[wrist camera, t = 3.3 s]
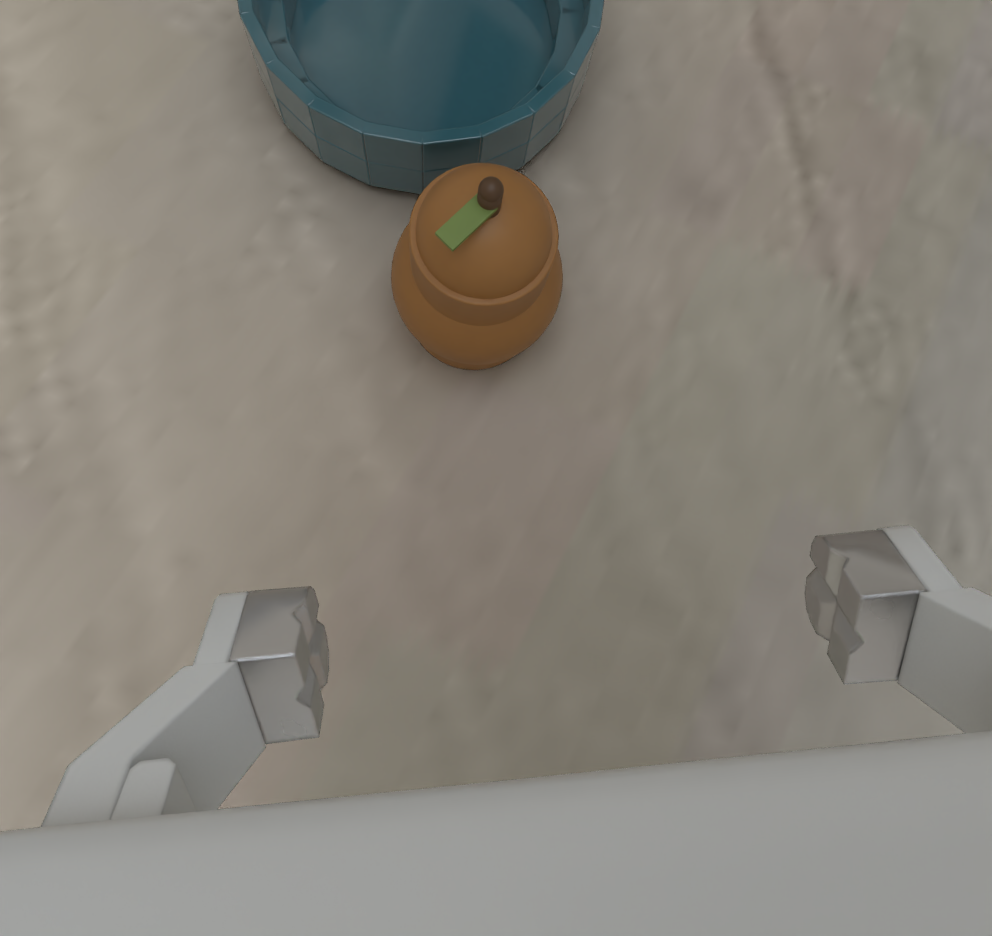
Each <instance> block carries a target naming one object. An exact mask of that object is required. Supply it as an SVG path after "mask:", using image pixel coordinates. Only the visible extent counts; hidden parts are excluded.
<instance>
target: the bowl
mask: <svg viewBox="0 0 992 936" xmlns="http://www.w3.org/2000/svg"><path fill="white" fill-rule="evenodd" d="M237 1H238V8H239V14H240V17H241V20H242V23H243V26H244V29H245V32H246V35H247V38H248V41H249V44H250V47H251V50H252V53H253V56H254V59H255V62H256V65H257V68H258V71H259V74H260V77H261V80H262V82H263V84H264V86H265V88H266V90H267V92H268V94H269V95H270V97H271V99H272V101H273V103H274V105H275V107H276V109H277V111H278V113H279V115H280V117H281V119H282V121H283V123H284V124H286V126H287V127H288V128H289V129H290V130H291V131H292V132H293V133H294V134H295V135H296V136H297V137H298V138H299V139H300V140H301V141H302V142H303V143H304V144H305V145H306V146H307V147H308V148H309V149H310V150H311V151H313V152H314V153H315V154H316V155H317V156H318V157H319V158H320V159H321V160H323V162H324V163H326V164H328V165H330V166H332V167H334V168H336V169H338V170H340V171H342V172H344V173H346V174H348V175H350V176H352V177H354V178H356V179H358V180H360V181H362V182H364V183H366V184H368V185H372V186H376V187H382V188H387V189H393V190H399V191H405V192H410V193H416V194H421V193H422V192H423V190H424V189H425V188H426V187H427V186H428V185H429V184H430V183H431V182H432V181H433V180H434V179H435V178H437V177H438V176H440V175H441V174H443V173H445V172H446V171H448V170H451V169H453V168H455V167H458V166H462V165H466V164H472V163H491V164H497V165H502V166H505V167H508V168H511V169H513V170H517V169H519V168H522V166H524V165H525V164H526V163H527V162H528V161H529V160H530V159H532V158H533V157H534V156H535V155H536V154H537V153H538V152H539V151H540V150H541V149H542V148H543V147H544V146H545V145H546V144H548V143H549V142H550V141H551V140H552V139H553V138H554V137H555V136H556V135H557V134H558V132H560V130H561V128H562V126H563V124H564V122H565V121H566V119H567V117H568V115H569V113H570V111H571V109H572V107H573V105H574V103H575V102H576V100H577V98H578V96H579V94H580V92H581V89H582V86H583V83H584V80H585V76H586V73H587V70H588V67H589V63H590V60H591V57H592V54H593V50H594V47H595V44H596V41H597V37H598V34H599V31H600V27H601V20H602V13H603V6H604V0H237Z"/></svg>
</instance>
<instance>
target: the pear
mask: <svg viewBox="0 0 992 936" xmlns="http://www.w3.org/2000/svg"><path fill="white" fill-rule="evenodd" d="M558 238H559V234H558V225H557V221H556V217H555V214H554V211H553V208H552V206H551V205H550V203H549V201H548V199H547V198H546V196H545V195H544V193H543V192H542V191H541V190H540V189H539V188H538V187H537V185H536V184H534V183H533V182H532V181H531V180H530V179H529V178H527V177H526V176H524V175H522V174H521V173H519V172H517V171H515V170H513V169H511V168H508V167H505V166H502V165H497V164H491V163H472V164H466V165H462V166H458V167H455V168H453V169H451V170H448V171H446V172H445V173H443V174H441V175H440V176H438V177H437V178H435V179H434V180H433V181H432V182H431V183H430V184H429V185H428V186H427V187H426V188H425V189H424V190H423V192H422V193H421V194H420V196H419V197H418V199H417V201H416V203H415V205H414V208H413V210H412V213H411V217H410V222H409V224H408V225H407V226H406V228H405V229H404V231H403V233H402V235H401V237H400V239H399V241H398V244H397V246H396V249H395V252H394V256H393V261H392V272H391V283H392V291H393V296H394V300H395V303H396V306H397V309H398V312H399V314H400V316H401V318H402V320H403V322H404V323H405V325H406V326H407V328H408V329H409V331H410V332H411V333H412V334H413V335H414V336H415V338H416V339H417V340H418V341H419V342H420V343H421V345H422V346H423V347H424V348H425V349H426V350H427V351H428V352H429V353H430V354H431V355H432V356H434V357H435V358H437V359H438V360H440V361H441V362H444V363H446V364H448V365H450V366H453V367H456V368H461V369H468V370H480V369H486V368H491V367H494V366H497V365H500V364H502V363H504V362H506V361H507V360H509V359H510V358H512V357H513V356H515V355H517V354H519V353H521V352H522V351H524V350H525V349H527V348H528V347H529V346H531V345H532V344H533V343H534V342H535V341H536V340H537V339H538V338H539V337H540V336H541V335H542V334H543V332H544V331H545V330H546V328H547V327H548V325H549V324H550V322H551V321H552V319H553V317H554V315H555V312H556V310H557V307H558V304H559V301H560V297H561V291H562V282H563V273H562V263H561V258H560V254H559V250H558Z"/></svg>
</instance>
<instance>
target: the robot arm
mask: <svg viewBox="0 0 992 936" xmlns="http://www.w3.org/2000/svg"><path fill="white" fill-rule="evenodd" d="M810 557H811V559H812V561H813V562H814V564H815V566H816V568H815V569H814V570H813V571H812V572H811V573H810V574H809V575H808V576H807V577H806V586H805V600H806V609H807V613H808V616H809V619H810V622H811V624H812V626H813V628H814V630H815V632H816V634H818V635H819V636H821V637H823V638H824V639H826V640H828V641H829V645H828V651H827V655H828V656H829V658H830V660H831V662H832V664H833V666H834V667H835V669H836V671H837V673H838V675H839V677H840V678H841V680H842V682H843V684H856V683H869V682H883V681H896V680H898V682H897V683H898V684H900V685H901V686H902V687H904V688H905V689H906V690H908V691H909V692H910V693H912V694H913V695H915V696H916V697H917V698H919V699H920V700H921V701H923V702H924V703H925V704H927V705H928V706H929V707H931V708H932V709H933V710H935V711H936V712H937V713H939V714H940V715H942V716H943V717H944V718H946V719H947V720H948V721H950V722H951V723H952V724H954V725H955V726H956V727H958V728H959V729H960V730H962V731H963V732H965V733H964V734H954V735H945V736H935V737H925V738H916V739H907V740H897V741H888V742H878V743H868V744H858V745H848V746H838V747H828V748H818V749H808V750H798V751H788V752H778V753H768V754H758V755H748V756H738V757H728V758H718V759H708V760H698V761H688V762H678V763H668V764H658V765H649V766H639V767H629V768H619V769H610V770H600V771H590V772H580V773H571V774H561V775H551V776H541V777H532V778H522V779H512V780H502V781H493V782H483V783H473V784H463V785H453V786H443V787H433V788H423V789H413V790H404V791H394V792H384V793H374V794H364V795H354V796H344V797H334V798H324V799H315V800H305V801H295V802H285V803H275V804H265V805H255V806H245V807H235V808H225V809H218V808H219V806H220V805H221V804H222V802H223V801H224V800H225V799H226V797H227V796H228V795H229V794H230V792H231V791H232V790H233V789H234V787H235V786H236V785H237V783H238V782H239V781H240V780H241V778H242V777H243V776H244V775H245V773H246V772H247V771H248V769H249V768H250V767H251V766H252V764H253V763H254V762H255V761H256V759H257V758H258V757H259V755H260V754H261V753H262V752H263V750H264V749H265V748H266V745H265V744H270V743H278V742H286V741H294V740H302V739H309V738H317V737H319V735H320V729H321V722H322V716H323V709H324V702H323V698H322V694H321V689H322V688H323V687H324V686H325V685H326V684H327V681H328V673H329V648H328V641H327V635H326V631H325V627H324V625H323V624H321V623H320V622H319V621H318V620H317V614H318V608H319V603H318V600H317V597H316V593H315V590H314V589H313V588H312V587H311V586H307V587H294V588H281V589H268V590H255V591H251V592H236V593H224V594H220V595H219V596H218V597H217V598H216V599H215V600H214V603H213V606H212V609H211V612H210V615H209V618H208V621H207V624H206V627H205V630H204V633H203V636H202V639H201V642H200V645H199V648H198V651H197V654H196V657H195V660H194V663H193V665H192V666H184V667H183V668H181V669H180V670H179V671H178V672H177V673H176V674H174V675H173V676H172V677H171V678H170V679H169V680H167V681H166V682H165V683H164V684H163V685H162V686H160V687H159V688H158V689H157V690H156V691H155V692H153V693H152V694H151V695H150V696H149V697H147V698H146V699H145V700H144V701H143V702H142V703H140V704H139V705H138V706H137V707H136V708H135V709H133V710H132V711H131V712H130V713H129V714H128V715H126V716H125V717H124V718H123V719H122V720H121V721H119V722H118V723H117V724H116V725H115V726H114V727H112V728H111V729H110V730H109V731H108V732H107V733H105V734H104V735H103V736H102V737H101V738H100V739H98V740H97V741H96V742H95V743H94V744H92V745H91V746H90V747H89V748H88V749H87V750H85V751H84V752H83V753H82V754H81V755H80V756H78V757H77V758H76V759H75V760H74V761H73V762H71V763H70V764H69V765H68V766H67V769H66V771H65V773H64V775H63V778H62V780H61V782H60V784H59V787H58V789H57V791H56V793H55V796H54V798H53V800H52V802H51V805H50V807H49V809H48V811H47V814H46V816H45V818H44V820H43V823H42V825H41V827H37V828H27V829H17V830H7V831H0V936H992V596H990V595H987V594H985V593H983V592H981V591H979V590H977V589H975V588H973V587H970V588H963V587H962V586H961V585H960V584H959V582H958V581H957V580H956V579H955V577H954V576H953V575H952V574H951V572H950V571H949V570H948V569H947V567H946V566H945V565H944V564H943V562H942V561H941V560H940V559H939V557H938V556H937V555H936V554H935V552H934V551H933V550H932V549H931V548H930V546H929V545H928V544H927V543H926V541H925V540H924V539H923V538H922V536H921V535H920V534H919V533H918V531H917V530H916V529H915V528H914V527H912V526H910V525H903V526H895V527H887V528H879V529H877V530H867V531H858V532H848V533H839V534H830V535H820V536H815V538H814V540H813V542H812V545H811V551H810Z"/></svg>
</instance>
